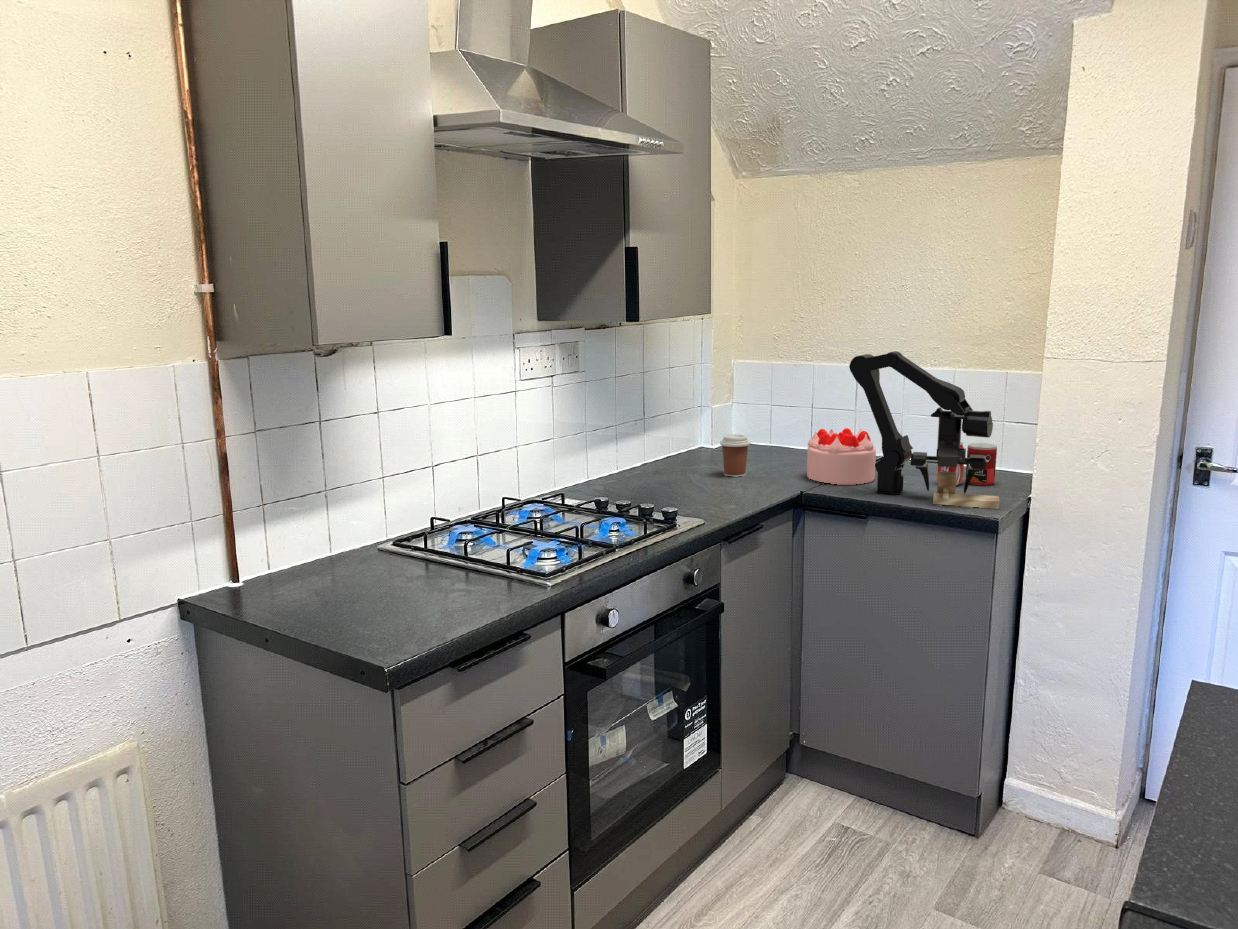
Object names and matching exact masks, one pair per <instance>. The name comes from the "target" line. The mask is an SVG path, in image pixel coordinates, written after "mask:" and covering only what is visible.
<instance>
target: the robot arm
mask: <svg viewBox="0 0 1238 929" xmlns="http://www.w3.org/2000/svg"><path fill="white" fill-rule="evenodd" d="M848 366H849V368H848V369H849V372H850V373H851V374H852V377H854V380H855V381H856V383H857V384H859V385H860V387H861V388H862V389H863V391H864V394H865V396H866V399H867V402H868V404H869V408H870V410H871V412H872V415H873V418H874V420H875V423H876V426H877V428H878V432H879V433H880V437H881V451H882V456H883V457H882V458H881V459H879V460H878V461H877V462H875V472H877V480H876V481H877V482H876V489H875V490H876V491H875V493H877V494H884V493H890V494H889V495H901V494H902V492H903V491H904V487H905V486H904V485H905V484H904V482H905V481H904V480H905V475H904V474H903V469H904V467H905V464H906V463H908V462H909V461H910V466H914V467H915V469H918V470H919V471H920V472H921V475H922V477H923V481H924V484H925V487H926V488H925V489H926V491H927V492H930V475H929V464H937V466H940V467H944V466H949V467H957V464H962V465H964V466H965V465H968V469H967V474H966V473H965V480H964V485H963V494H966V492H967V490H968V489H969V486H970V484H969V483H970V481H971V479H972V477H973V475H974V474H975V472H980V469H985V468H986V457H985V456H984V455H970V458H967V448H965V447H964V448H960V442H962V441H961V438H962V435H961V434H962V433H964V434H965V436H967V437H976V438H977V437H978V438H988V439H989V438H991V436H992V434H993V428H994V422H993V419H992V418H993V417H992V411H991V410H983V411H981V410H980V411H979V410H974V409H973V408H972V406H971V405H970V404H969V402H968V401H967V399H966V393H965V390H963V389H962V387H960V386H957V385H956V384H953V383H951V382H947V381H945V380H942V379H939V378H937V377H936V376H934V375H932V373H929V372H928V371H926V370H925V369H924V368H922V367H921V366H919V365H917V363H915V362H914V361H912V360H910V359H909V358H907V357H906V356H905V355H903V354H902V352H900V351H897V350H896V351H895V350H894V351H890V352H887V353H885V354H884V353H883V354H880V355H879V354H878V355H875V356H874V355H872V354H870V353H869V354H868V353H865V354H860V355H857V356H854V357H853V358H852V359H851V360H850V363H849V365H848ZM884 368H885V369H886V368H891V369H893V370H894V371H896V372H897V373H899V374H900V375H902V376H903V377H904V378H906V379H908V380H909V381H911V382H912V383H913V384H915V385H916V386H918V387H920V389H922V390H923V391H925V392H926V393H927V394H928V395H929V397H930V398H931V399H932V400H933V402H934V403H936V404H937V405H938V406H939V407H937V408H936V410H934V412H932V413H931V414H930V417H931V418H938V430H937V443H936V444H937V447H936V455H928V452H925V451H923V452H921V451H913V449H914V447H913V446H912V445H911V443H910V438H909V435H907V434H906V435H904V436H903V435H902V434H901V433H900V432H899V430H898V427H897V426H896V423H895V420H894V417H893V415H892V413H891V410H890V407H889V405H888V404H889V403H888V401H887V400H886V397H885V394H884V390H883V388H882V386H881V383H880V377H881V376H880V375H881V374H880V369H884ZM912 451H913V452H912Z"/></svg>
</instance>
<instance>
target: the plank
mask: <svg viewBox="0 0 1238 929" xmlns="http://www.w3.org/2000/svg"><path fill="white" fill-rule="evenodd" d="M932 498H933V499H932V505H933V504H945V505H955V506H954V507H958V506H961V507H960V508H973V507H979V508H978V509H988V508H989V509H992V510H1000V497H999V495H983V494H969V493H968V494H966V493H955V494H953V493H949V497H948V499H945V498H943V493H937V491H936V492H935V491H934V492H933V497H932Z"/></svg>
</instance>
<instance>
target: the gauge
mask: <svg viewBox="0 0 1238 929" xmlns="http://www.w3.org/2000/svg"><path fill="white" fill-rule="evenodd" d="M956 486H957V485H956V472H938V481H937V486H936V487H937V489H936V490H937V491H936V493H943V498H945V499H948V497H949V493H953V494H956Z"/></svg>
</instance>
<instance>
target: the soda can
mask: <svg viewBox="0 0 1238 929" xmlns="http://www.w3.org/2000/svg"><path fill="white" fill-rule="evenodd" d="M960 448H965V447H964V443H963V442H962V441H960ZM964 466H965V465H962V464H957V467H949V466H944V467H940V466H938V465H937V467H936V468H937V470H936V481H937V482H938V472H956V486H959V485H960V484H962V483H963V478H964V469H965V467H964Z"/></svg>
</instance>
